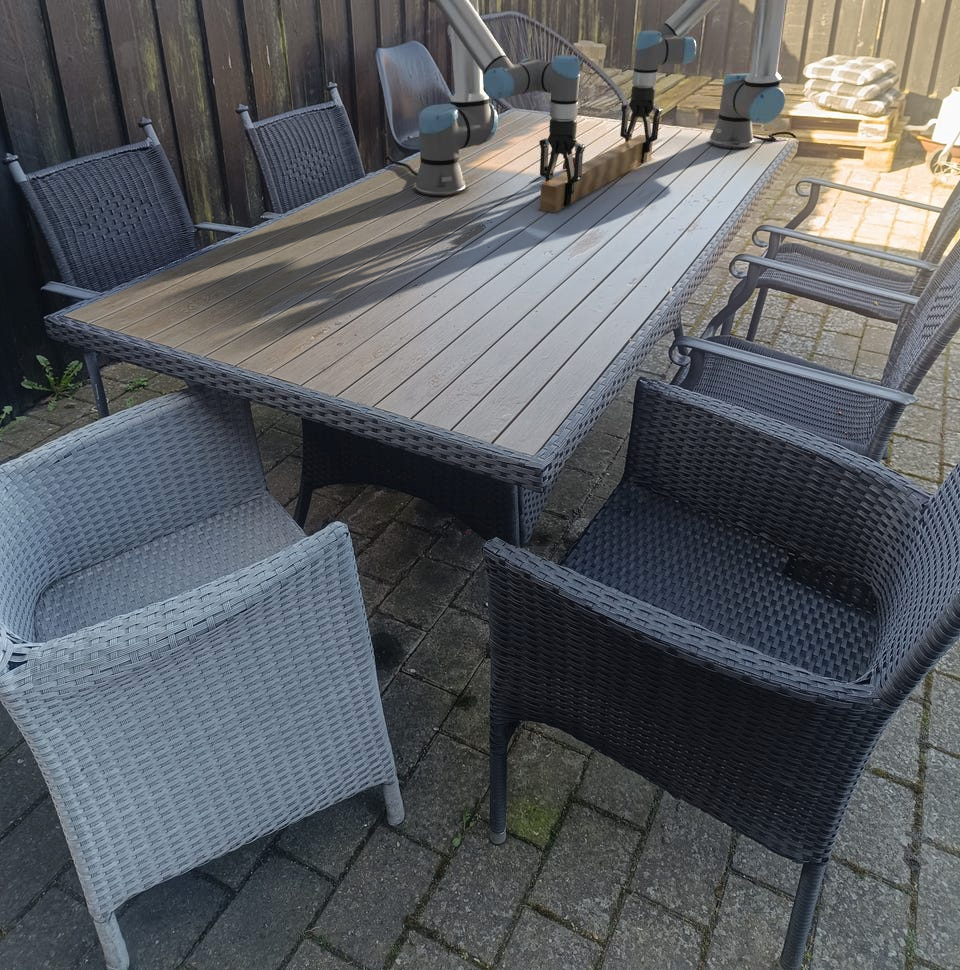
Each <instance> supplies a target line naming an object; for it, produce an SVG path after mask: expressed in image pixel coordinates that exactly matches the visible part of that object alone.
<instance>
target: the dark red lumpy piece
mask: <svg viewBox="0 0 960 970" xmlns="http://www.w3.org/2000/svg"><path fill="white" fill-rule="evenodd" d="M572 158H573V165H575V156H572ZM562 170H566V165H565V160H564V161H563V164H562Z"/></svg>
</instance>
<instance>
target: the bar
mask: <svg viewBox="0 0 960 970" xmlns="http://www.w3.org/2000/svg"><path fill="white" fill-rule="evenodd" d="M645 141H646V139H645V134H639V135H637V136H635V137H632V138H631V140H629V141H627V142H625V141H624V142H622V143H620V144H619V145H616V146H615V147H612V148H610V149H609V150H606V151H605V152H603V153H601V154H599V155H597V156H595V157H593V158H591V159H589V160H586V161H585V162H582V176H581V180H579V181H577V182H575V185H574V193H573V194H571V204H573V203H575V202H577V201H578V200H581V199H582V198H584V197H586V196H587V195H589V194H591V193H592V192H594V191H596V190H598V189H600V188H602V187H603V186H605V185H607V184H609V183H610V182H613V181H614V180H616V179H618V178H619V177H621V176H623V175H625V174H627V173H628V172H630V171H633V170H634V169H635V168H637V167H639V166H641V165H643V164H644V163H641V160H642V150H643V143H644V142H645ZM653 144H654V141H652V142H651V148H650V152H648V153H647V162H649V161H650V160H651V159H652V153H653ZM552 178H553V179H551V180H549V181H547V182H546V181H545V182H543V183H541V184H540V198H539V199H540V204H539V211H544V212H548V213H553V214H556V213H557V212H558V211H561V210H563V209H564V208H566V207H567V206H564V198H565V183H567V182H568V178H567V172H566V171H565V172H563V173H561V174H559V175H557V176H555V177H552Z"/></svg>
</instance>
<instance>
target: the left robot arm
mask: <svg viewBox="0 0 960 970" xmlns="http://www.w3.org/2000/svg"><path fill="white" fill-rule="evenodd" d="M427 1H428V2H430V3H431V4H435V6H436V7H437V9H438V10H439V11H440V13H441V14H442V15H443V17H444V19H445V20H446V21H447V23H448V24H449V31H450V44H451V57H452V58H451V59H452V70H453V72H452V73H453V83H454V84H453V85H454V94H453V96H452V97H451V98H450V103H440V104H432V105H429V106H427V107H424V109H422V110H421V111H420V112H419V114H418V115H419V116H418V126H417V127H418V136H419V138H418V139H419V157H420V158H419V159H420V161H419V162H420V164H419V168H418V172H417V171H416V170H414V169H413V168H412V167H411V166H410V164H407V163H405V162H401V161H397V160H394V159H393V158H392V157H391V156H390V155H387V156H386V157H385V160H386V161H389V162H390V163H392V164H394V165H396V166H401V167H404V168H405V167H406V168H407V169H408V170H409V171H410V173H412V175H414V176H416V180H415V192H417V193H418V194H420V195H424V196H430V197H450V196H455V195H459V194H461V193H463V192H464V191H466V181H465V179H464V176H463V172H462V169H461V165H460V150H463V149H467V148H471V147H474V146H481V145H483V144H484V143H487V142H489V141H491V140H492V139H493V137H494V136H495V135H496V133H497V129H498V125H499V117H498V112H497V110H496V109H495V106H494V105H493V104H492V103H491V102H490V99H493V100H501V99H509V98H510V97H514V96H518V95H524V94H528V93H533V92H543V93H547V94H550V106H549V107H550V108H549V117H550V119H549V128H548V129H549V130H548V132H549V135H548V137H547V138H543V139H540V140H539V142H538V143H539V147H540V160H539V161H540V162H539V176H540V177H543V178H545V182H547V181H549V180H551V179H553V178H554V173H555V169H556V166H557V162H558V160H559V159H558V158H559V156H560V155H562V158H563V159H564V161H565V165H566V169H565V172H567V178H568V182H567V183H565V198H564V206H566V207H568V206H570V205H571V204H572V203H571V194H573V193H574V185H575V182H577V181H579V180H581V176H582V164H583V161H584V160H583V157H584V152H585V149H586V144H584V143H580V142H578V141H577V128H578V127H577V126H578V120H577V118H578V111H579V109H578V108H579V90H580V80H581V61H580V58H579V57H578V56H576V55H572V54H571V55H568V54H560V55H555V56H554V57H552V60H551V61H552V62H551V61H546V60H540V59H536V58H523V59H521V60H520V61H519V62H518V63H515V64H513V63H512V61H510V59H509V58H508V56H507V55H506V53H505V52H504V50H503V48H502V47H501V45H500V44H499V43H498V42H497V40H496V39H495V37H494V36H493V34H492V33H491V31H490V30H489V28H488V27H487V25H486V24H485V22H484V21H483V20H482V18H481V17H480V8H479V7H480V6H479V0H427ZM549 146H550V148H551V150H550V149H549ZM573 149H574V151H575V153H574V152H573ZM549 151H550V157H549ZM573 154H574V155H573ZM572 157H574V158H575V165H573V158H572Z"/></svg>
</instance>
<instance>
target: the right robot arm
mask: <svg viewBox="0 0 960 970" xmlns="http://www.w3.org/2000/svg"><path fill="white" fill-rule="evenodd" d="M721 1H722V0H686V1H685V2H684V3H683V4H682V5H681V6H680V7H679V8H677V10H676V11H675V12H673V14H672V15H670V17H668V18H667V20H666V21H665V22H664V23H663V24H661V25H660V26H659V27H658V28H657V29H651V30H640V31H639V32H638V33H637V37H636V41H635V47H634V49H635V51H634V63H633V64H634V65H633V74H632V86H631V92H630V93H631V94H630V101H629V103H624V104H622V105H621V113H622V114H621V125H620V137H621V138H623V139H624V143H625V142H627V141H629V140H631V139H633V133H634V130H635V127H636V124H637V121H638V119H639V118H641V119H642V122H643V129H644V135H645V139H646V141H645V142H644V143H643V150H642V160H641V163H643V164H645V163H646V162H648V161H647V153H648V152H650V148H651V142H652V141H653V142H655V141H657V140H658V136H659V127H660V118H661V114H662V112H663V108H662V107H660V108H659V107H657V106H656V104H655V97H656V89H657V88H656V85H657V77H658V71H659V70H658V69H659V65H660V66H661V65H684V64H690V63H692V62H693V60H694V59H695V57H696V53H697V42H696V40H695V38H694V37H692V36H686V35H687V34H688V33H689V32H690V31H691V30H693V28H694V27H695V26H696V25H697V24H698V23H699V22H700V21H701V20H703V18H705V16H707V14H709V13H710V11H712V10H713V9H714V8H715V7H716V6H717V5H718V4H719V3H721ZM786 3H787V0H757V2H756V12H755V22H754V33H753V41H752V50H751V60H750V70H749V73H730V74H727V75H725V77H724V80H723V84H722V90H721V98H720V104H719V110H718V117H717V121H716V123H715V125H714V128H713V130H712V133H711V134H710V136H709V144H710V145H712V146H714V147H718V148H722V149H723V148H724V149H730V150H731V149H732V150H739V149H740V150H741V149H748V148H751V147H753V145H754V140H755V139H756V140H759V141H764V142H775V141H777V137H775V136H779V135H789V136H791V137H793V139H797V136H796V134H794V133H793V132H790V131H777V132H774V133H769V134H768V138H767V137H761V136H757V135H754V134H753V123H758V124H761V125H762V124H763V125H764V124H768V123H771V122H773V121H774V120H776V119H777V118H778V116H780V114H781V113H782V111H783V109H784V107H785V105H786V94H785V92H784V91H783V89H782V88H781V84H782V77H781V74H779V72H778V68H779V62H780V61H779V60H780V51H781V44H782V37H783V27H784V19H785V11H786ZM630 110H631V112H632V113H631V116H630V121H629V114H630ZM652 112H653V117H652V126H651V113H652ZM752 122H753V123H752Z"/></svg>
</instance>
